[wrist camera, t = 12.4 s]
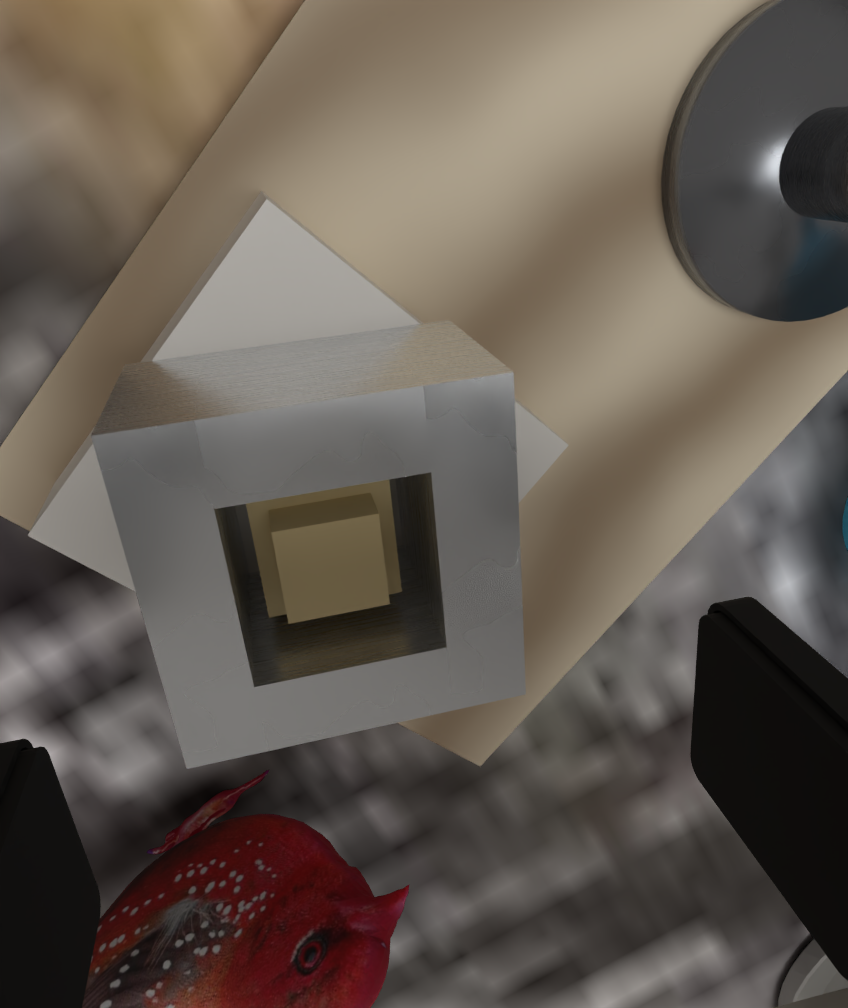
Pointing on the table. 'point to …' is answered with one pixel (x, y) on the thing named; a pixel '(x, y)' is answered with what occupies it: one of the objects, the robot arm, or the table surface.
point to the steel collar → (305, 469)
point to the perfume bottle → (845, 524)
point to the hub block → (294, 519)
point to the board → (492, 276)
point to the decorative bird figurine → (244, 921)
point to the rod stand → (765, 164)
